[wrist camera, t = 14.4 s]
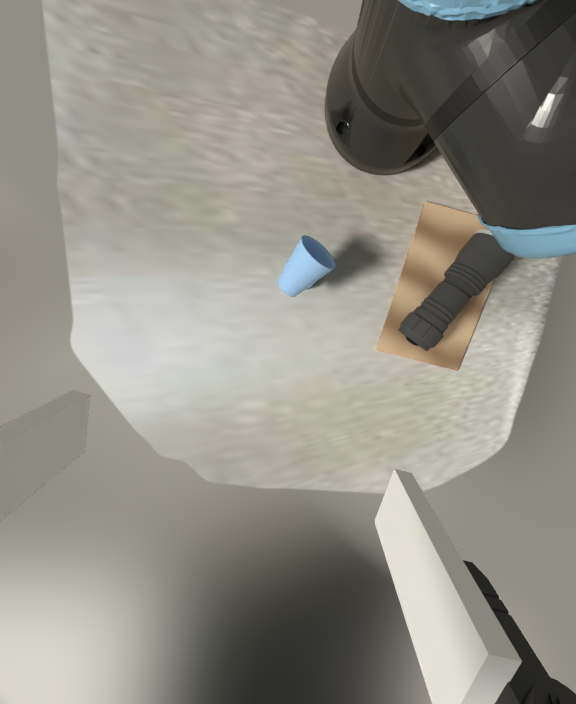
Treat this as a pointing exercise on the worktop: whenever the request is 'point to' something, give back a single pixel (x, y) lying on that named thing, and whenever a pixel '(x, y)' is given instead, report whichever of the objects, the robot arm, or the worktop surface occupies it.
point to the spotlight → (305, 266)
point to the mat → (433, 286)
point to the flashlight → (456, 289)
